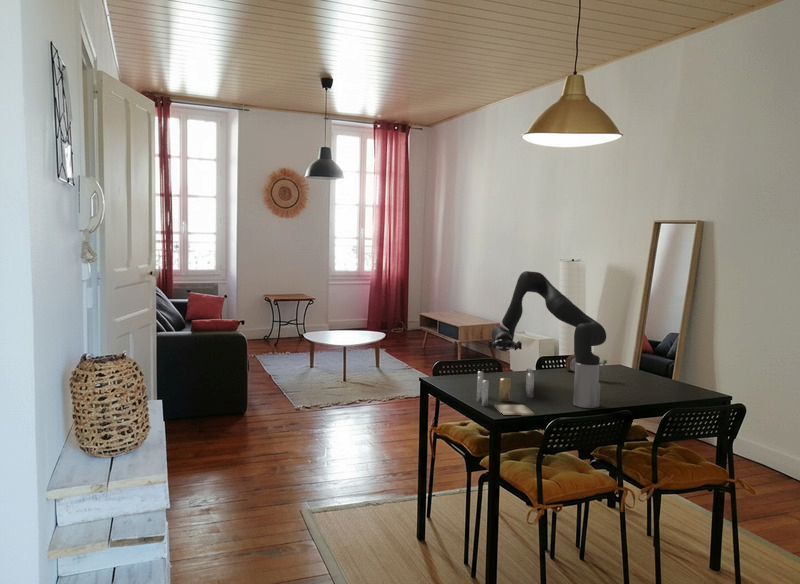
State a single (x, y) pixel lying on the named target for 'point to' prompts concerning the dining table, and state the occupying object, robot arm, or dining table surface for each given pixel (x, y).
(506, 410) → the birch pad
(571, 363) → the tin
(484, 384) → the steel posts
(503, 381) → the bronze spacer
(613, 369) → the dining table surface
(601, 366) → the mechanical component
